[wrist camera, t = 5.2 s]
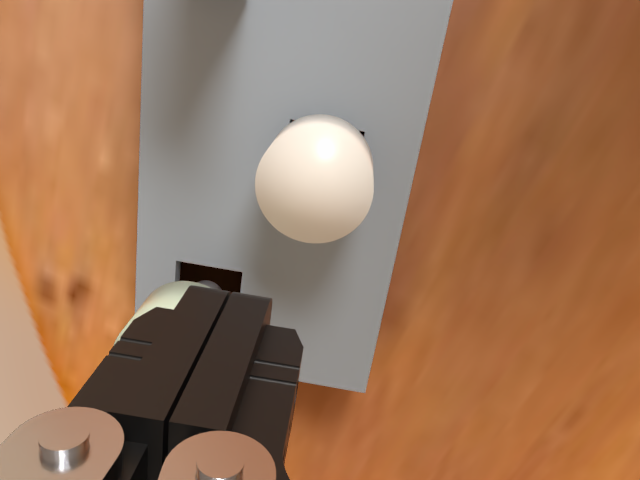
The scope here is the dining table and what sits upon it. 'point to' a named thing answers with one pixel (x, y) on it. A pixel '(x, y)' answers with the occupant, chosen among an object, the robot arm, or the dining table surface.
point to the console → (256, 137)
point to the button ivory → (316, 179)
